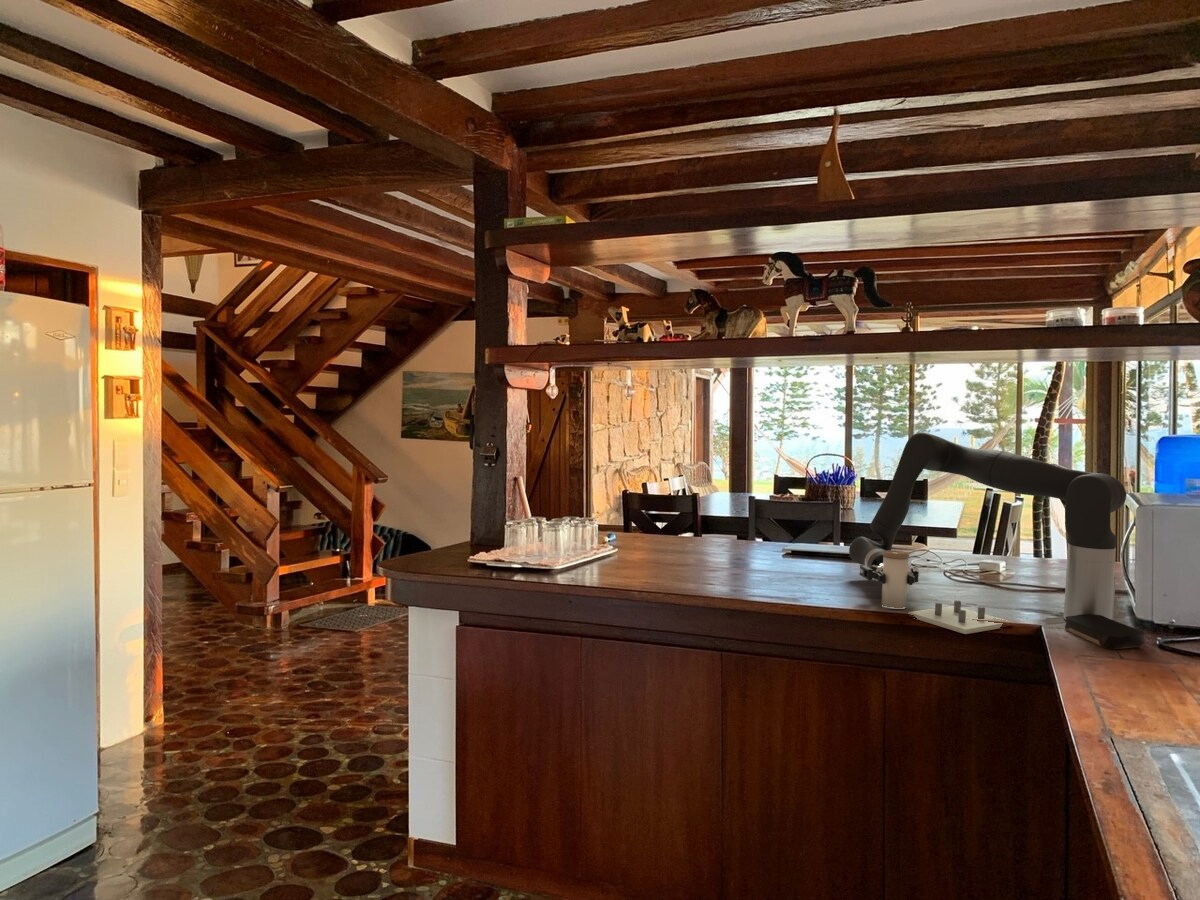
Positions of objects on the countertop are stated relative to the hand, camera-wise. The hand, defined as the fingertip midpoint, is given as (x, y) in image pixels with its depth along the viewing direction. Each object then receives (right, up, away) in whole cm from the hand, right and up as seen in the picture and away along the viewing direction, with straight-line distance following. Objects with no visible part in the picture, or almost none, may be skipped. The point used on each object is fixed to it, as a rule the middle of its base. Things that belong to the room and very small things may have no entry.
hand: (897, 580), depth 191 cm
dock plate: (+11, -8, -9) cm, 16 cm away
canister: (0, -7, +3) cm, 7 cm away
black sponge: (+35, -10, -20) cm, 42 cm away
